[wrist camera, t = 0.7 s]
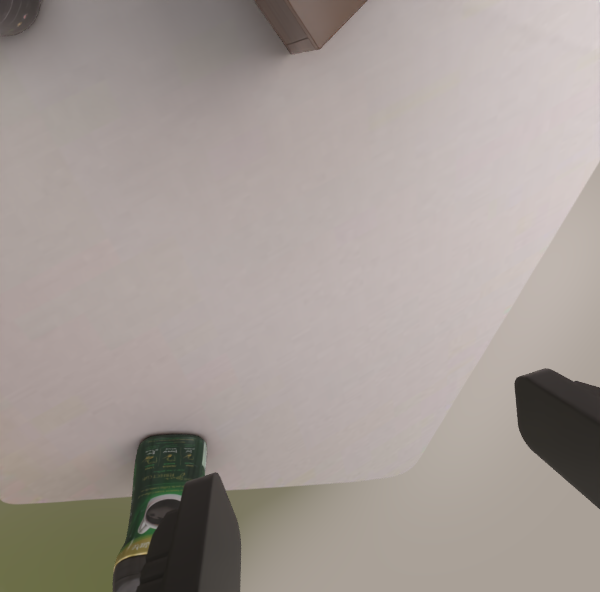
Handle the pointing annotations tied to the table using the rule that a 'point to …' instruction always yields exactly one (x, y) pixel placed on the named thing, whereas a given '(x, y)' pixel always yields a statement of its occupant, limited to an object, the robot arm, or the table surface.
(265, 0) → the cabinet
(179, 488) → the coffee jar
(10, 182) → the table surface
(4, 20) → the supplement bottle
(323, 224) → the table surface
